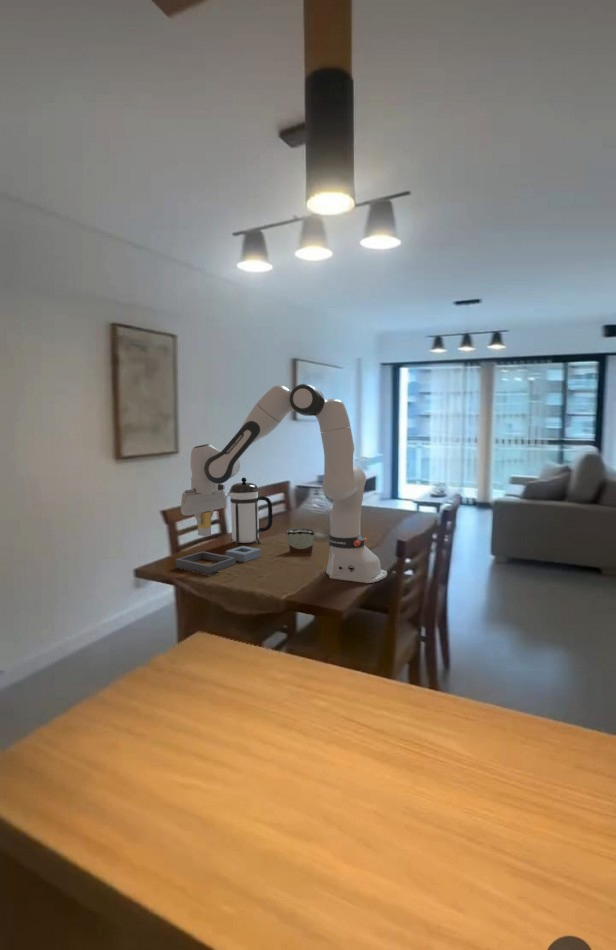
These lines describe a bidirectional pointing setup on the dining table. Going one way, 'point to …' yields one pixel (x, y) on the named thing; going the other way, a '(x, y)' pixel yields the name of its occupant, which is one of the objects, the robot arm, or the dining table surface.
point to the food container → (300, 539)
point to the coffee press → (246, 512)
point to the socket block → (244, 553)
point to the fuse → (205, 524)
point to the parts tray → (189, 565)
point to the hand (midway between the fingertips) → (204, 523)
